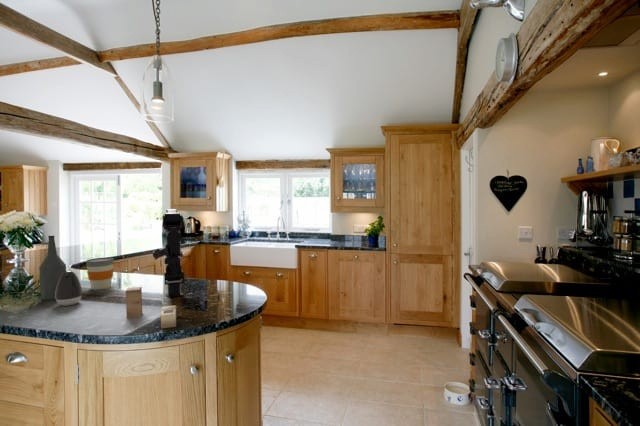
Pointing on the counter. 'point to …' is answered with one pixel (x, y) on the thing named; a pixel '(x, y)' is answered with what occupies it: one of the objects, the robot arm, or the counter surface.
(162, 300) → the counter surface
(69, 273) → the aroma diffuser
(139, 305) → the walnut block
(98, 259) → the reusable coffee cup
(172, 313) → the maple block
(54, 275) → the bottle
